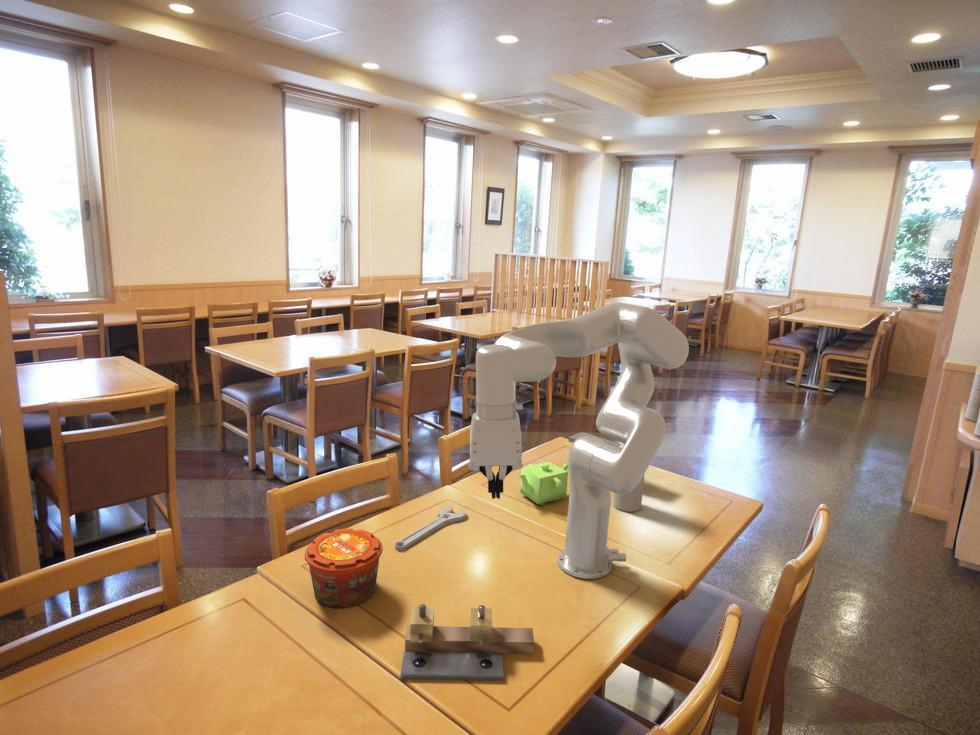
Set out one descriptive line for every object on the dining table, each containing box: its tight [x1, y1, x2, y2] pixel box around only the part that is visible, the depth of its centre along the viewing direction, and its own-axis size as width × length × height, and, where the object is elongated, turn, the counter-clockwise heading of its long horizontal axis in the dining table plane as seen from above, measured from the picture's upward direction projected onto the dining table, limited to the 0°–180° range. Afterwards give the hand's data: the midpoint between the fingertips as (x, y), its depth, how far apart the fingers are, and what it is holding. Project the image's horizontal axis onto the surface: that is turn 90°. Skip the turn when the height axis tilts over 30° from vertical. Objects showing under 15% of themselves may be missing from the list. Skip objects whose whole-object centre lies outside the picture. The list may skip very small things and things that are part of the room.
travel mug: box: [612, 443, 646, 513], centre depth 169 cm, size 8×8×18 cm
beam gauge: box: [404, 603, 535, 655], centre depth 110 cm, size 24×7×8 cm, turn 91°
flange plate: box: [399, 651, 504, 681], centre depth 106 cm, size 18×6×1 cm, turn 91°
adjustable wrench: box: [394, 507, 466, 552], centre depth 154 cm, size 25×6×2 cm, turn 140°
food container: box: [304, 528, 384, 609], centre depth 126 cm, size 16×16×11 cm
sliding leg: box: [469, 604, 493, 646], centre depth 110 cm, size 4×7×6 cm, turn 1°
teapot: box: [516, 461, 569, 506], centre depth 173 cm, size 15×13×11 cm
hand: (495, 495), depth 118 cm, fingers closed
